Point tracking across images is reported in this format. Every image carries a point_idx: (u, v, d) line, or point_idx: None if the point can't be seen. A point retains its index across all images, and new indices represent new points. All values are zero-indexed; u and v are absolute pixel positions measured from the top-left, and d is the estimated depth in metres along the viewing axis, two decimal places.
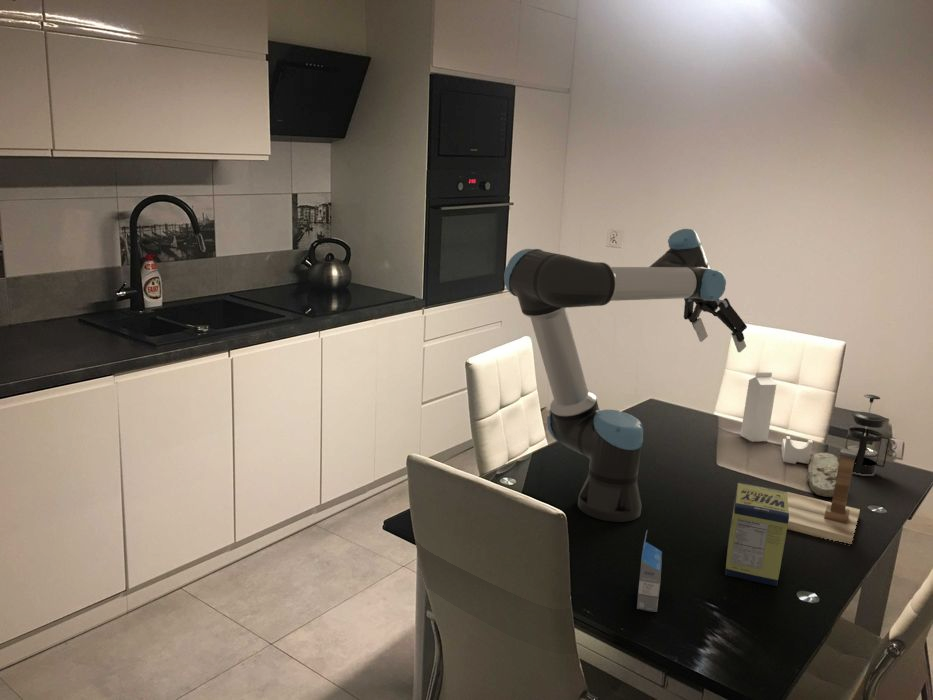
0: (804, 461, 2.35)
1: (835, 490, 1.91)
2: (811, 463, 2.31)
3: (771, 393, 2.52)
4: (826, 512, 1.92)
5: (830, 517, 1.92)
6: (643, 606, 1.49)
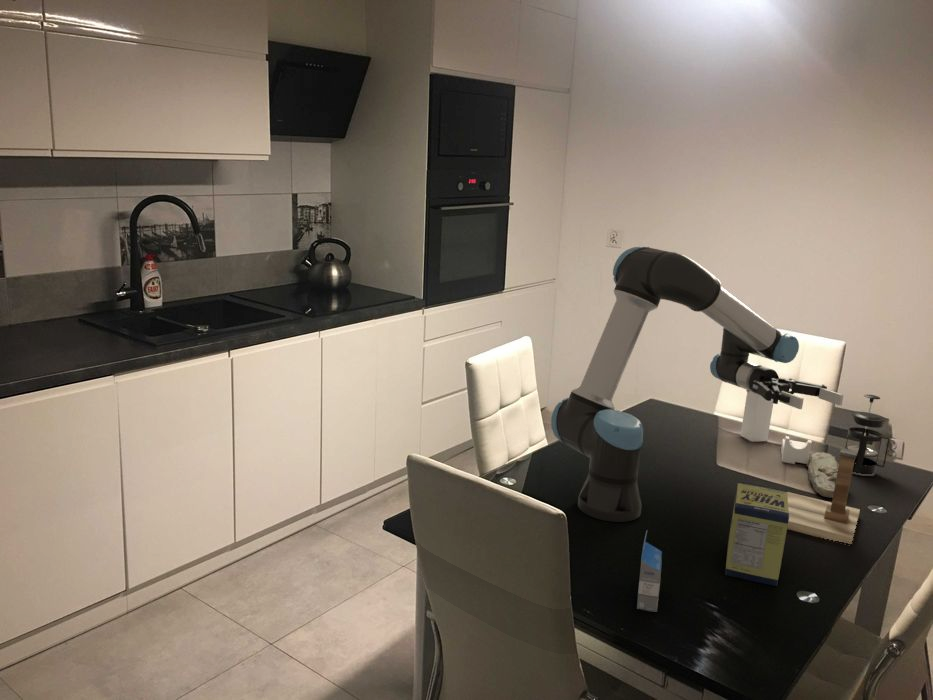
0: (803, 461, 2.35)
1: (835, 490, 1.91)
2: (810, 463, 2.31)
3: None
4: (826, 512, 1.92)
5: (830, 517, 1.92)
6: (643, 606, 1.49)
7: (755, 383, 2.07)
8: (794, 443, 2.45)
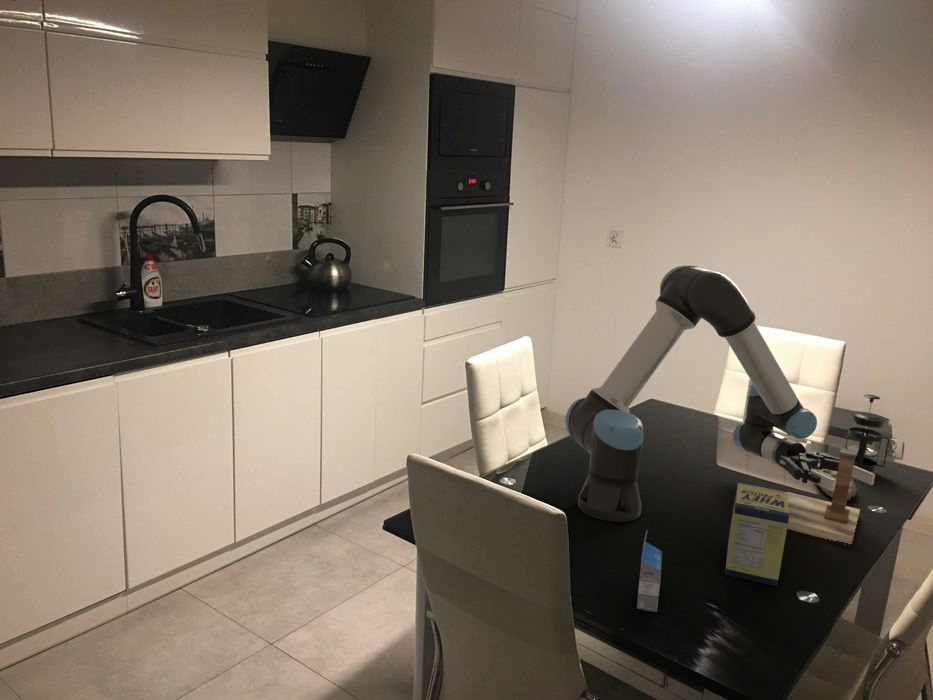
0: None
1: (835, 490, 1.91)
2: None
3: None
4: (826, 512, 1.92)
5: (830, 517, 1.92)
6: (643, 606, 1.49)
7: (782, 459, 1.99)
8: None
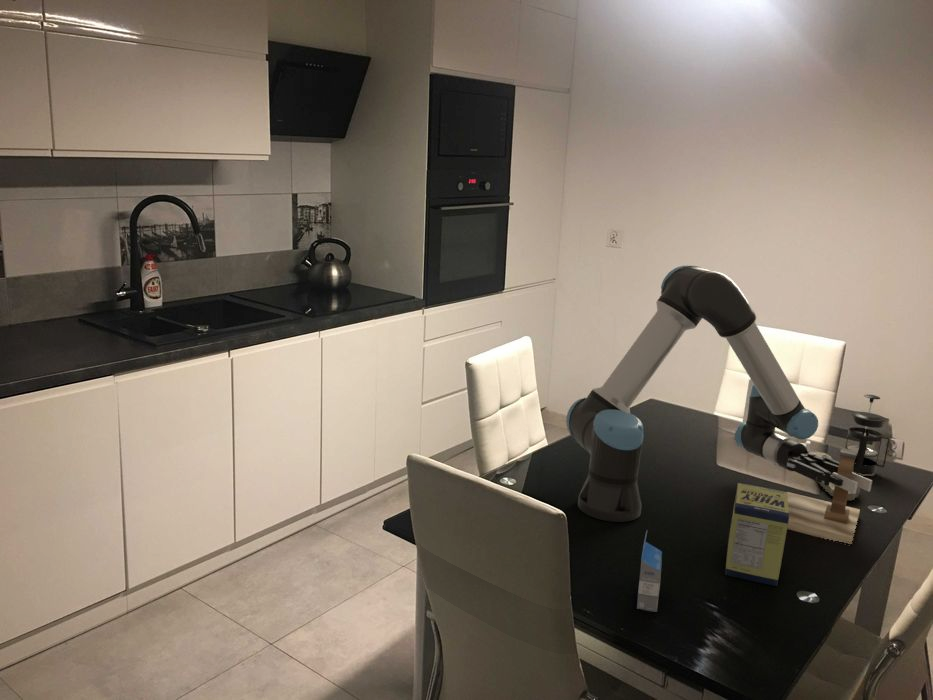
0: None
1: (835, 490, 1.91)
2: None
3: None
4: (826, 512, 1.92)
5: (830, 517, 1.92)
6: (643, 606, 1.49)
7: (791, 462, 1.97)
8: None
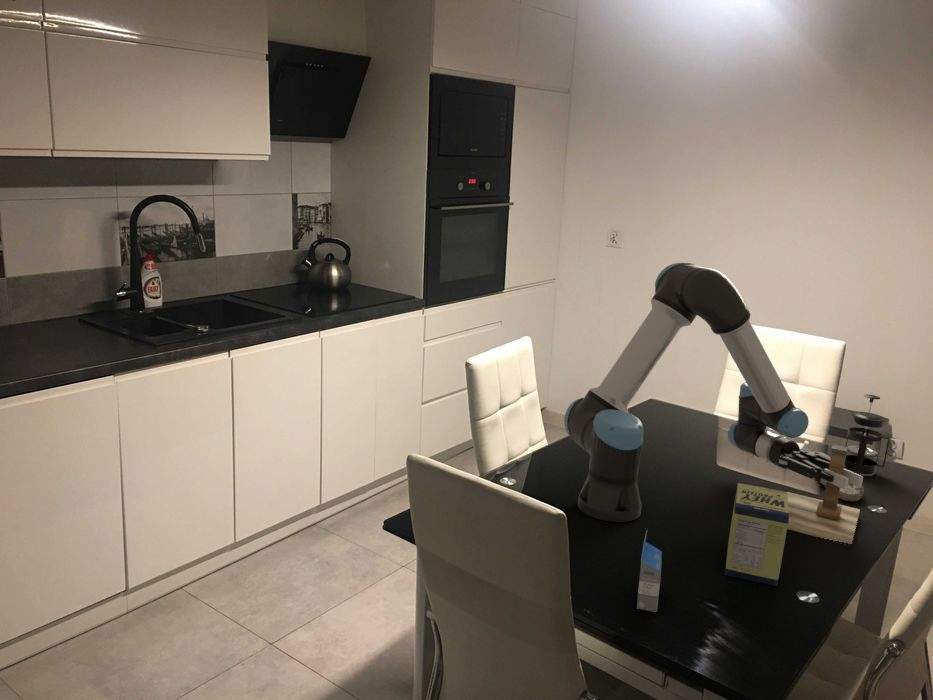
0: None
1: (827, 486, 1.92)
2: None
3: None
4: (818, 508, 1.93)
5: (822, 513, 1.93)
6: (643, 606, 1.49)
7: (783, 459, 1.98)
8: None
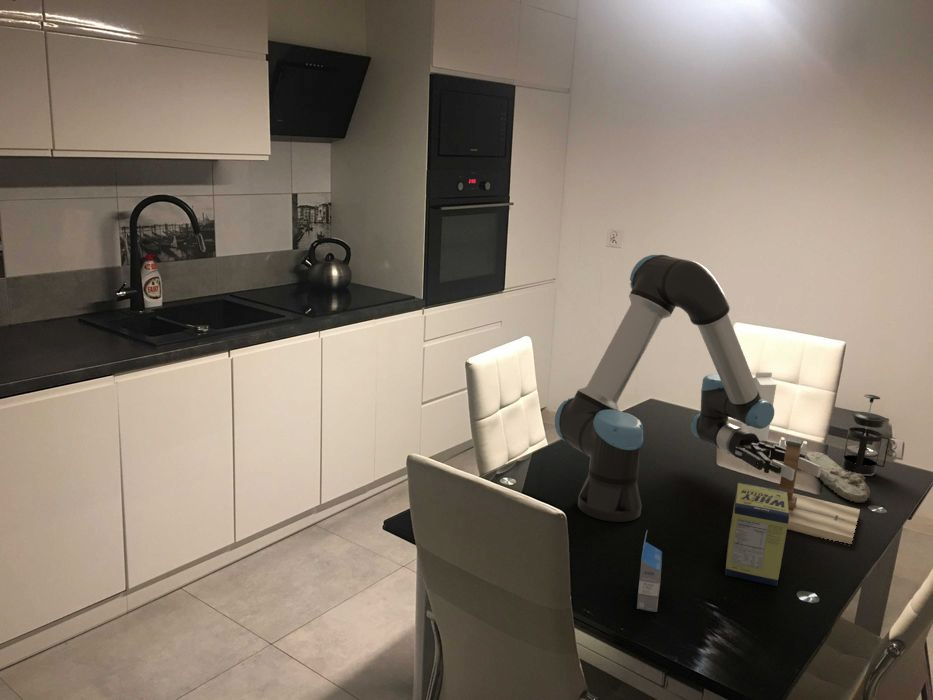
0: None
1: (782, 478, 1.97)
2: None
3: (771, 393, 2.52)
4: None
5: None
6: (643, 606, 1.49)
7: (738, 450, 2.04)
8: None
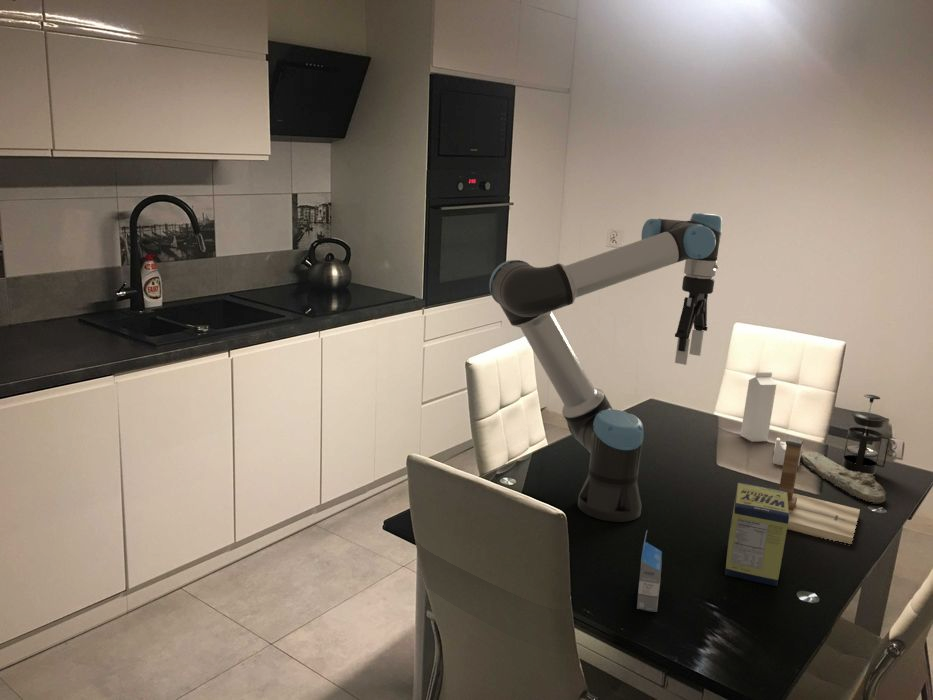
0: None
1: (782, 478, 1.97)
2: (818, 467, 2.28)
3: (771, 393, 2.52)
4: None
5: None
6: (643, 606, 1.49)
7: None
8: None
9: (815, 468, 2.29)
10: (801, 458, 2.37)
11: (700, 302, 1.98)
